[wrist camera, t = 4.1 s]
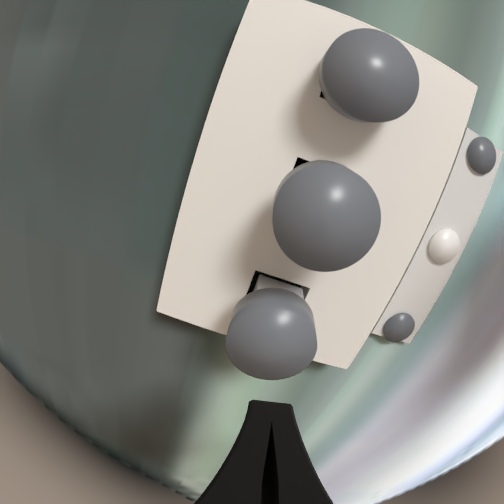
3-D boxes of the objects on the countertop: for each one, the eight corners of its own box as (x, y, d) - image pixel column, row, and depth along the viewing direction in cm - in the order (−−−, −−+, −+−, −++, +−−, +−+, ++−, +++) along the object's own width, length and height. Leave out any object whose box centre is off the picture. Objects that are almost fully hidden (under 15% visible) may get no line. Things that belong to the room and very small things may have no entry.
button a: (397, 69, 14) (429, 56, 10) (374, 134, 15) (402, 138, 11) (326, 37, 14) (340, 13, 10) (302, 105, 15) (310, 98, 11)
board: (459, 88, 14) (477, 86, 12) (342, 349, 21) (346, 369, 19) (258, 1, 13) (255, -14, 11) (166, 294, 20) (156, 311, 18)
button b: (368, 173, 15) (397, 190, 11) (337, 246, 16) (353, 284, 12) (290, 142, 14) (294, 148, 11) (262, 220, 16) (257, 252, 12)
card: (500, 150, 15) (505, 151, 14) (407, 342, 20) (409, 346, 20) (465, 125, 14) (469, 126, 14) (369, 331, 20) (371, 336, 19)
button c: (322, 280, 17) (332, 324, 13) (293, 338, 18) (295, 388, 15) (249, 256, 17) (240, 296, 13) (227, 317, 18) (215, 365, 14)
